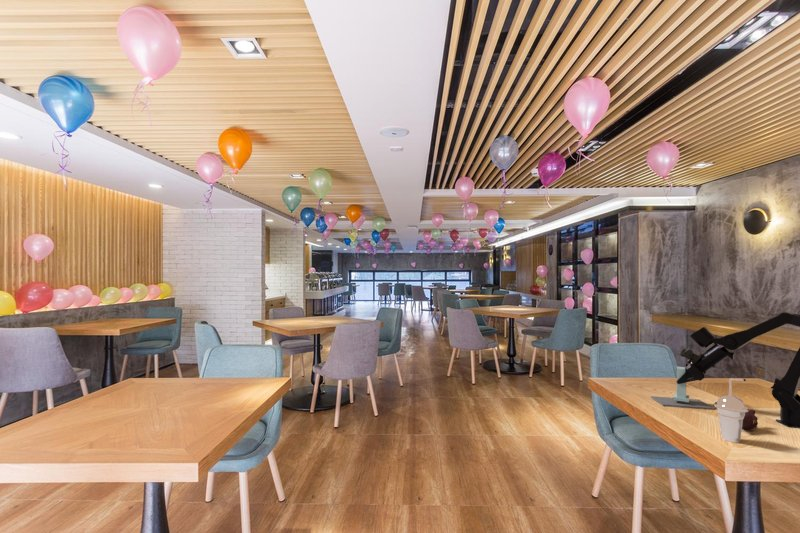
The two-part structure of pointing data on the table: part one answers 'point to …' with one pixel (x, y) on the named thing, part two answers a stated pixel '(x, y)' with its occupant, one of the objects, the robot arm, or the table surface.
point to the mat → (682, 403)
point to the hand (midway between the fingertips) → (677, 381)
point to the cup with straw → (731, 414)
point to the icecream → (749, 420)
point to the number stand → (681, 387)
